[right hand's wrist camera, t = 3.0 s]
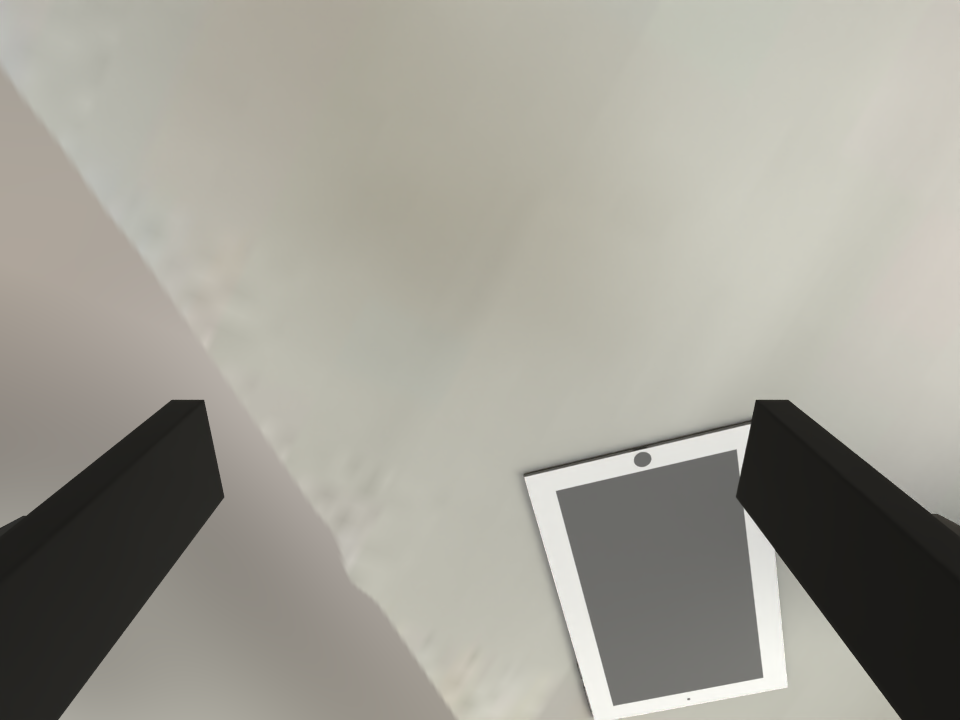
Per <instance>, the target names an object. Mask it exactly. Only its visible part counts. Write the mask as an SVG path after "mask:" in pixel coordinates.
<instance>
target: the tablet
mask: <svg viewBox="0 0 960 720" xmlns="http://www.w3.org/2000/svg"><path fill="white" fill-rule="evenodd" d="M750 426H751V422H746V423H742V424H738V425H734V426H729V427H725V428H721V429H717V430H712V431H708V432H704V433H700V434H695V435H691V436H687V437H683V438H678V439H674V440H670V441H665V442H661V443H657V444H653V445H648V446H644V447H640V448H636V449H631V450H627V451H623V452H619V453H614V454H610V455H606V456H602V457H597V458H593V459H589V460H585V461H580V462H576V463H572V464H568V465H563V466H559V467H555V468H551V469H546V470H542V471H538V472H534V473H529V474H525V475H524V479H525V482H526V486H527V489H528V492H529V496H530V499H531V503H532V506H533V510H534V513H535V517H536V520H537V523H538V527H539V530H540V534H541V537H542V541H543V544H544V548H545V551H546V554H547V558H548V561H549V565H550V568H551V572H552V575H553V579H554V582H555V585H556V589H557V592H558V596H559V599H560V603H561V606H562V610H563V613H564V616H565V620H566V623H567V627H568V630H569V634H570V637H571V641H572V644H573V647H574V651H575V654H576V658H577V661H578V664H577V666H578V670H579V673H580V676H581V679H583V682H584V685H585V686H584V690H585V694H586V697H587V700H588V704H589V707H590V711H591V712H592V713H593V716H594V720H615V719H620V718H626V717H631V716H636V715H642V714H647V713H652V712H658V711H663V710H669V709H674V708H679V707H685V706H690V705H696V704H701V703H706V702H712V701H717V700H722V699H728V698H733V697H739V696H744V695H749V694H755V693H760V692H766V691H771V690H776V689H782V688H787V687H788V685H787V674H786V664H785V653H784V643H783V632H782V622H781V611H780V600H779V590H778V579H777V569H776V558H775V549H774V548H773V546H772V545H771V544H770V542H769V541H768V540H767V538H766V537H765V536H764V534H763V533H762V532H761V530H760V529H759V528H758V526H757V525H756V524H755V522H754V521H753V520H752V518H751V517H750V516H749V514H748V513H747V512H746V510H745V509H744V508H743V506H742V505H741V504H740V502H739V501H738V500H737V498H736V493H737V488H738V484H739V479H740V474H741V469H742V464H743V460H744V455H745V450H746V445H747V440H748V436H749V431H750Z"/></svg>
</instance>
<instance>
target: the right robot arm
mask: <svg viewBox="0 0 960 720" xmlns="http://www.w3.org/2000/svg"><path fill="white" fill-rule="evenodd" d="M223 498H224V493H223V488H222V484H221V479H220V474H219V469H218V464H217V460H216V455H215V450H214V445H213V440H212V436H211V431H210V426H209V421H208V416H207V412H206V407H205V402H204V400H171V401H170V402H169V403H167V404H166V405H165V406H164V407H162V408H161V409H160V410H159V411H157V412H156V413H155V414H154V415H152V416H151V417H150V418H149V419H147V420H146V421H145V422H144V423H142V424H141V425H140V426H138V427H137V428H136V429H135V430H133V431H132V432H131V433H130V434H128V435H127V436H126V437H125V438H124V439H122V440H121V441H120V442H118V443H117V444H116V445H115V446H113V447H112V448H111V449H110V450H108V451H107V452H106V453H105V454H103V455H102V456H101V457H100V458H98V459H97V460H96V461H95V462H93V463H92V464H91V465H90V466H88V467H87V468H86V469H85V470H83V471H82V472H81V473H80V474H78V475H77V476H76V477H74V478H73V479H72V480H71V481H69V482H68V483H67V484H66V485H64V486H63V487H62V488H61V489H59V490H58V491H57V492H56V493H54V494H53V495H52V496H51V497H49V498H48V499H47V500H46V501H44V502H43V503H42V504H41V505H39V506H38V507H37V508H36V509H34V510H33V511H32V512H31V513H29V514H28V515H27V516H22V517H20V518H18V519H17V520H14V521H13V522H11V523H9V524H7V525H5V526H3V527H1V528H0V720H58V719H59V718H60V717H61V715H62V714H63V713H64V711H65V710H66V709H67V707H68V706H69V705H70V703H71V702H72V701H73V699H74V698H75V697H76V695H77V694H78V693H79V691H80V690H81V689H82V687H83V686H84V685H85V683H86V682H87V681H88V679H89V678H90V676H91V675H92V674H93V672H94V671H95V670H96V668H97V667H98V666H99V664H100V663H101V662H102V660H103V659H104V658H105V656H106V655H107V654H108V652H109V651H110V650H111V648H112V647H113V646H114V644H115V643H116V642H117V640H118V639H119V638H120V636H121V635H122V634H123V632H124V631H125V630H126V628H127V627H128V626H129V624H130V623H131V622H132V620H133V619H134V618H135V616H136V615H137V613H138V612H139V611H140V609H141V608H142V607H143V605H144V604H145V603H146V601H147V600H148V599H149V597H150V596H151V595H152V593H153V592H154V591H155V589H156V588H157V587H158V585H159V584H160V583H161V581H162V580H163V579H164V577H165V576H166V575H167V573H168V572H169V571H170V569H171V568H172V567H173V565H174V564H175V563H176V561H177V560H178V559H179V557H180V556H181V554H182V553H183V552H184V550H185V549H186V548H187V546H188V545H189V544H190V542H191V541H192V540H193V538H194V537H195V536H196V534H197V533H198V532H199V530H200V529H201V528H202V526H203V525H204V524H205V522H206V521H207V520H208V518H209V517H210V516H211V514H212V513H213V512H214V510H215V509H216V508H217V506H218V505H219V504H220V502H221V501H222V499H223ZM736 498H737V500H738V501H739V502H740V504H741V505H742V506H743V508H744V509H745V510H746V512H747V513H748V514H749V516H750V517H751V518H752V520H753V521H754V522H755V524H756V525H757V526H758V528H759V529H760V530H761V532H762V533H763V534H764V536H765V537H766V538H767V540H768V541H769V542H770V544H771V545H772V546H773V548H774V549H775V550H776V552H777V553H778V555H779V556H780V557H781V559H782V560H783V561H784V563H785V564H786V565H787V567H788V568H789V569H790V571H791V572H792V573H793V575H794V576H795V577H796V579H797V580H798V581H799V583H800V584H801V585H802V587H803V588H804V589H805V591H806V592H807V593H808V595H809V596H810V597H811V599H812V600H813V601H814V603H815V604H816V605H817V607H818V608H819V609H820V611H821V612H822V613H823V615H824V616H825V618H826V619H827V620H828V622H829V623H830V624H831V626H832V627H833V628H834V630H835V631H836V632H837V634H838V635H839V636H840V638H841V639H842V640H843V642H844V643H845V644H846V646H847V647H848V648H849V650H850V651H851V652H852V654H853V655H854V656H855V658H856V659H857V660H858V662H859V663H860V664H861V666H862V667H863V668H864V670H865V671H866V672H867V674H868V675H869V676H870V678H871V679H872V681H873V682H874V683H875V685H876V686H877V687H878V689H879V690H880V691H881V693H882V694H883V695H884V697H885V698H886V699H887V701H888V702H889V703H890V705H891V706H892V707H893V709H894V710H895V711H896V713H897V714H898V715H899V717H900V718H901V719H902V720H960V526H959V525H957V524H956V523H954V522H952V521H950V520H948V519H946V518H944V517H942V516H940V515H938V514H931V513H929V512H928V511H927V510H926V509H924V508H923V507H922V506H921V505H919V504H918V503H917V502H916V501H914V500H913V499H912V498H911V497H909V496H908V495H907V494H906V493H904V492H903V491H902V490H901V489H899V488H898V487H897V486H896V485H894V484H893V483H892V482H891V481H889V480H888V479H887V478H886V477H884V476H883V475H882V474H881V473H879V472H878V471H877V470H875V469H874V468H873V467H872V466H870V465H869V464H868V463H867V462H865V461H864V460H863V459H862V458H860V457H859V456H858V455H857V454H855V453H854V452H853V451H852V450H850V449H849V448H848V447H847V446H845V445H844V444H843V443H842V442H840V441H839V440H838V439H837V438H835V437H834V436H833V435H832V434H830V433H829V432H828V431H827V430H825V429H824V428H823V427H822V426H820V425H819V424H818V423H816V422H815V421H814V420H813V419H811V418H810V417H809V416H808V415H806V414H805V413H804V412H803V411H801V410H800V409H799V408H798V407H796V406H795V405H794V404H793V403H791V402H790V401H789V400H756V402H755V407H754V412H753V416H752V421H751V426H750V431H749V436H748V440H747V445H746V450H745V455H744V460H743V464H742V469H741V474H740V479H739V484H738V488H737V493H736Z"/></svg>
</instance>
